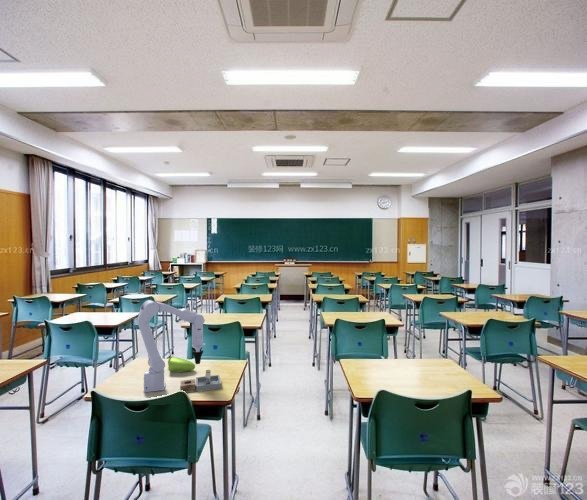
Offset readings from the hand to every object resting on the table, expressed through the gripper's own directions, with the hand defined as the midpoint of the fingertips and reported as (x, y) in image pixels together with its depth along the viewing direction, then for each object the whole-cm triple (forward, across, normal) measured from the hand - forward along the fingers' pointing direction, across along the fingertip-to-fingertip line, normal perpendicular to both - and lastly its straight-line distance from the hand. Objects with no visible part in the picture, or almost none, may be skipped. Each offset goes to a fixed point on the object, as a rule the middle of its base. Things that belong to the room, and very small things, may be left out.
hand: (197, 361), depth 180 cm
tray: (+9, -10, -5) cm, 15 cm away
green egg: (+10, +16, +10) cm, 21 cm away
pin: (+9, -10, -5) cm, 14 cm away
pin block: (+9, -11, +5) cm, 15 cm away
